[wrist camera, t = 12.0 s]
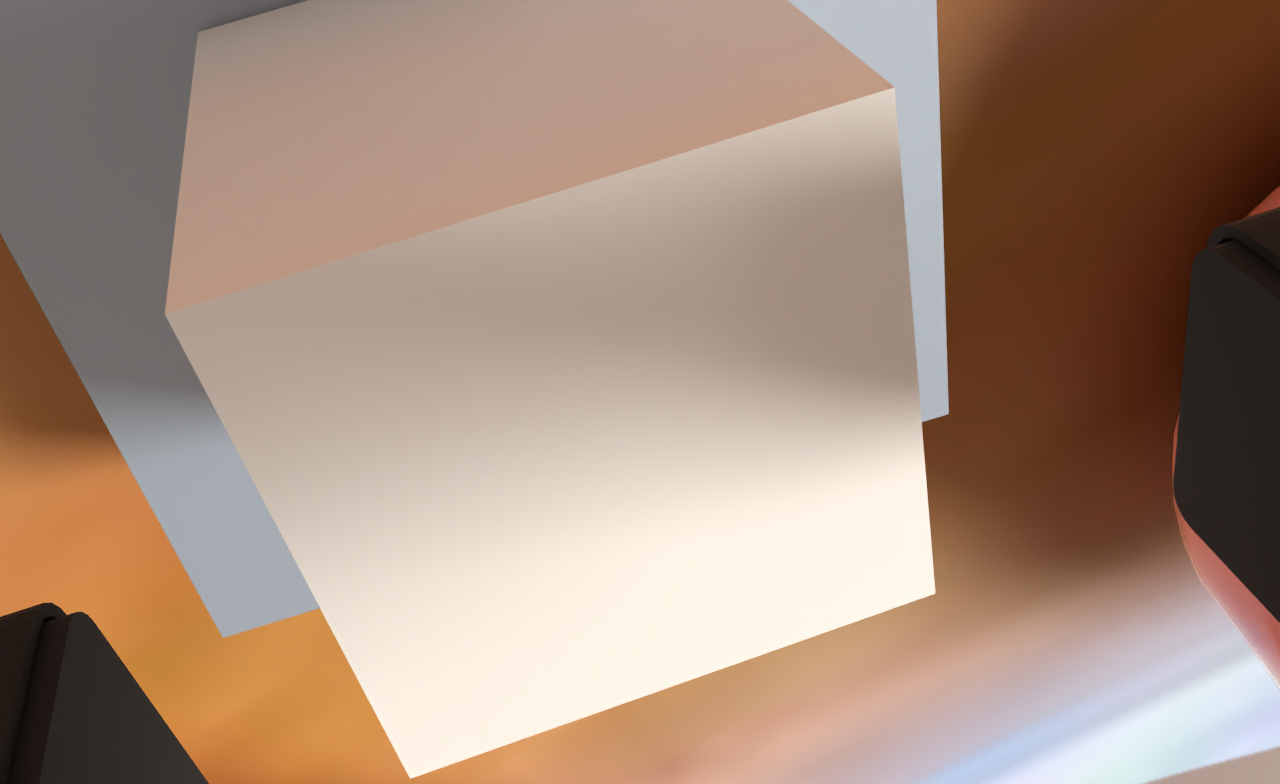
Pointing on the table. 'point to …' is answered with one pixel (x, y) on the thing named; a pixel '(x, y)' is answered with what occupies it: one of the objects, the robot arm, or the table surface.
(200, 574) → the base box
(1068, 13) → the table surface
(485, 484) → the cream matte cube
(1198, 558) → the cell model
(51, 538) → the table surface
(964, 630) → the table surface
